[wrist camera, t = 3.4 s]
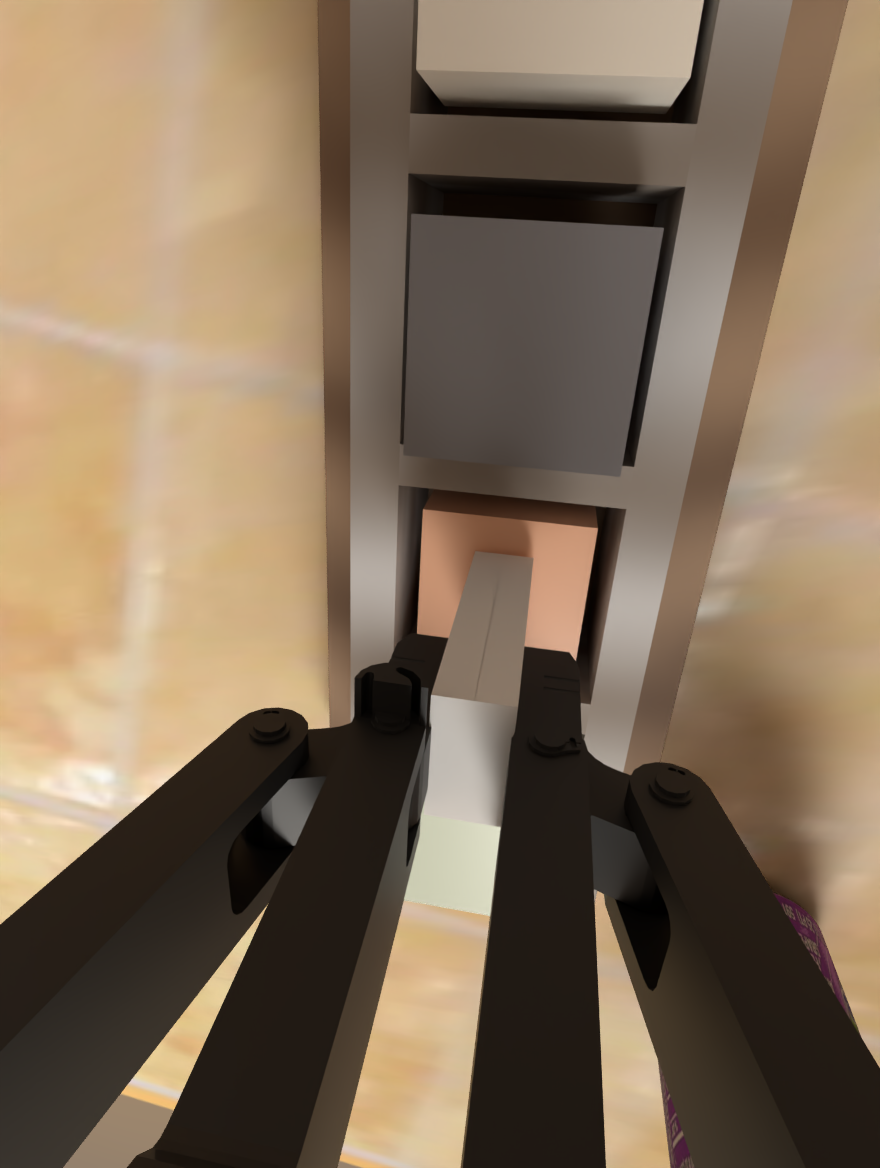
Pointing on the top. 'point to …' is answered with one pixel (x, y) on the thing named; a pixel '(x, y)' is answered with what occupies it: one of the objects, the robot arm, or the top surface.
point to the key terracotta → (512, 529)
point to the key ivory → (558, 53)
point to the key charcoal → (525, 340)
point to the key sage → (454, 865)
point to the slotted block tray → (672, 340)
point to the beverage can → (819, 951)
